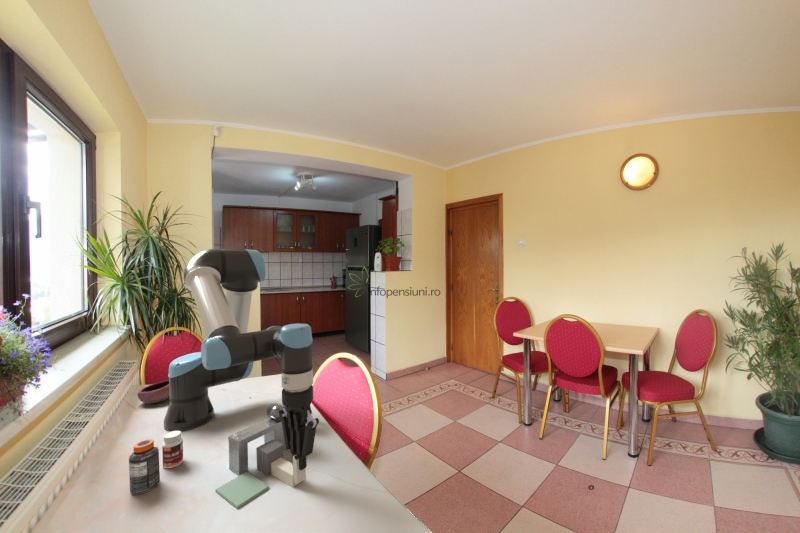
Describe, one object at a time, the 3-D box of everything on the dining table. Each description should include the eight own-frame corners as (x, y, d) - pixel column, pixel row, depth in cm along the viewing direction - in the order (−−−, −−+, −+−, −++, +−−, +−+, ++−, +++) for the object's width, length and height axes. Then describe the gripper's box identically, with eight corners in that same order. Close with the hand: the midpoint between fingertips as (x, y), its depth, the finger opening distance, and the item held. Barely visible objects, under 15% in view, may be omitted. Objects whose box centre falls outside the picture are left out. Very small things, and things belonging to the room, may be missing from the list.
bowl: (146, 411, 124) (146, 390, 124) (133, 404, 131) (132, 384, 131) (191, 396, 138) (191, 377, 138) (176, 390, 145) (176, 372, 145)
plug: (254, 468, 88) (254, 446, 88) (271, 459, 92) (270, 438, 92) (289, 489, 79) (288, 465, 79) (305, 478, 83) (305, 455, 83)
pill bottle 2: (161, 471, 87) (160, 440, 87) (164, 461, 92) (163, 432, 92) (182, 465, 90) (181, 435, 90) (184, 456, 94) (183, 428, 94)
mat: (215, 491, 79) (215, 489, 79) (246, 473, 86) (246, 471, 86) (237, 508, 73) (237, 506, 73) (268, 488, 80) (268, 485, 80)
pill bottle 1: (153, 476, 85) (152, 433, 85) (164, 483, 82) (163, 439, 82) (125, 490, 80) (124, 445, 80) (136, 498, 77) (134, 451, 77)
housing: (229, 469, 88) (228, 421, 88) (282, 441, 101) (281, 399, 101) (239, 475, 85) (238, 426, 85) (292, 445, 98) (291, 403, 98)
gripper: (268, 386, 81) (270, 479, 82) (302, 397, 74) (304, 499, 74) (293, 377, 87) (295, 463, 88) (326, 387, 80) (328, 481, 80)
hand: (299, 480), depth 81 cm, fingers closed
